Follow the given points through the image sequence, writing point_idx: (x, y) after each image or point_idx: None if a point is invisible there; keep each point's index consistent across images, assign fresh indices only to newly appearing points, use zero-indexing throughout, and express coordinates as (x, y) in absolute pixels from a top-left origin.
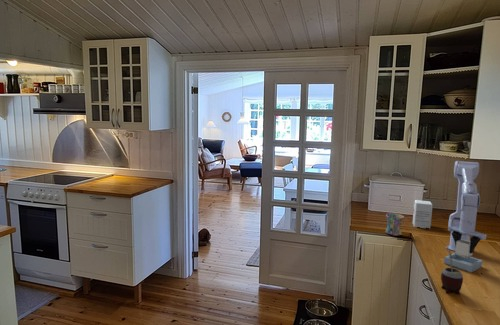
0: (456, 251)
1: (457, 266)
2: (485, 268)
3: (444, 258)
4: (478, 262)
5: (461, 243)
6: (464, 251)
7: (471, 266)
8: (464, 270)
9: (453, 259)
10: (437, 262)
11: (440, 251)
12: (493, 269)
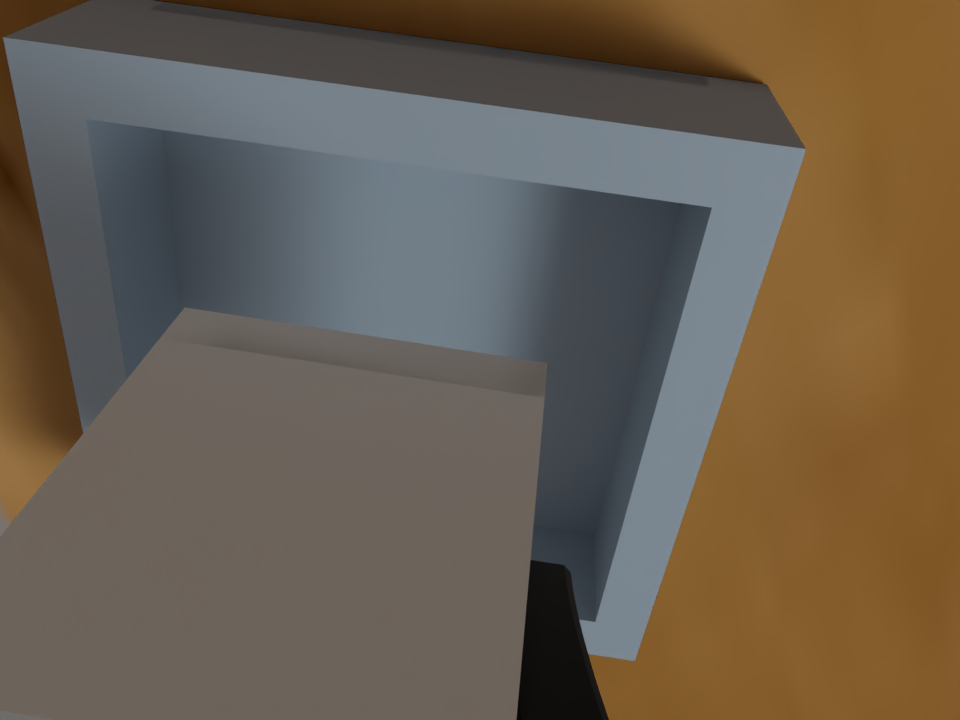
0: (503, 418)
1: (417, 48)
2: None
3: (794, 134)
4: (82, 423)
5: (267, 708)
6: (220, 439)
7: (16, 33)
8: (252, 14)
9: (541, 158)
10: (931, 22)
11: (918, 674)
12: (23, 505)
